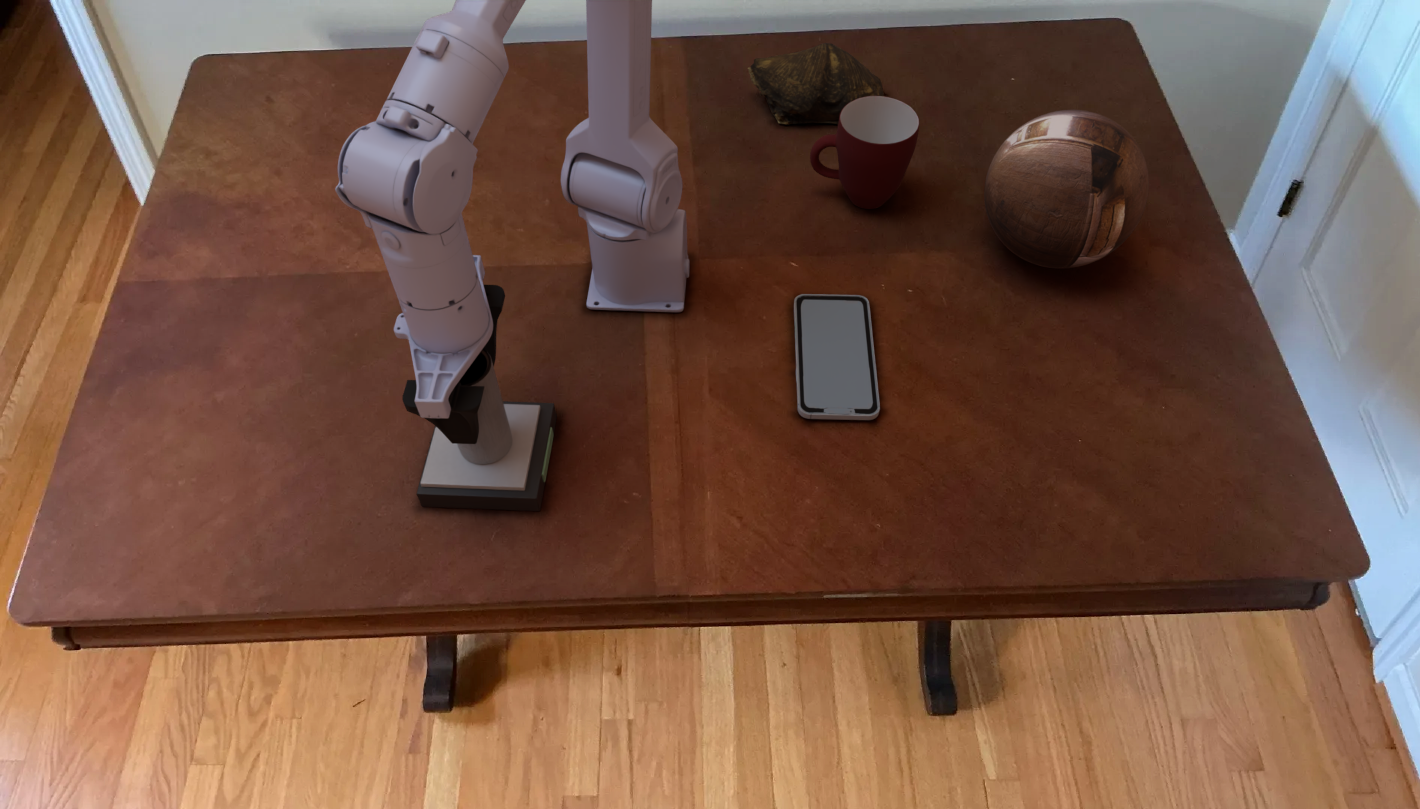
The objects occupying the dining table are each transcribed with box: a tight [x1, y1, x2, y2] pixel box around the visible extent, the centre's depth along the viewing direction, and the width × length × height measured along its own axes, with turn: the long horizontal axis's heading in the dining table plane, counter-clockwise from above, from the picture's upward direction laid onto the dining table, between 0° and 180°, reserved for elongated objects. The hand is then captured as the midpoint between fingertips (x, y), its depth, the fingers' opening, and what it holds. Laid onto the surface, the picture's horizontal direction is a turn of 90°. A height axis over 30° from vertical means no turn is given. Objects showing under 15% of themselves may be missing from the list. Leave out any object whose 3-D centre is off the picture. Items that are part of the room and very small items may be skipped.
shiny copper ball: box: [983, 109, 1150, 269], centre depth 97 cm, size 15×15×15 cm
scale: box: [416, 400, 558, 512], centre depth 85 cm, size 10×10×2 cm
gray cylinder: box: [457, 348, 512, 465], centre depth 80 cm, size 4×4×10 cm
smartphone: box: [793, 293, 881, 421], centre depth 93 cm, size 7×1×15 cm
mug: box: [809, 95, 921, 210], centre depth 104 cm, size 11×8×10 cm
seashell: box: [746, 42, 885, 125], centre depth 115 cm, size 16×9×7 cm, turn 91°
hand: (473, 401), depth 80 cm, fingers open, 7 cm apart
